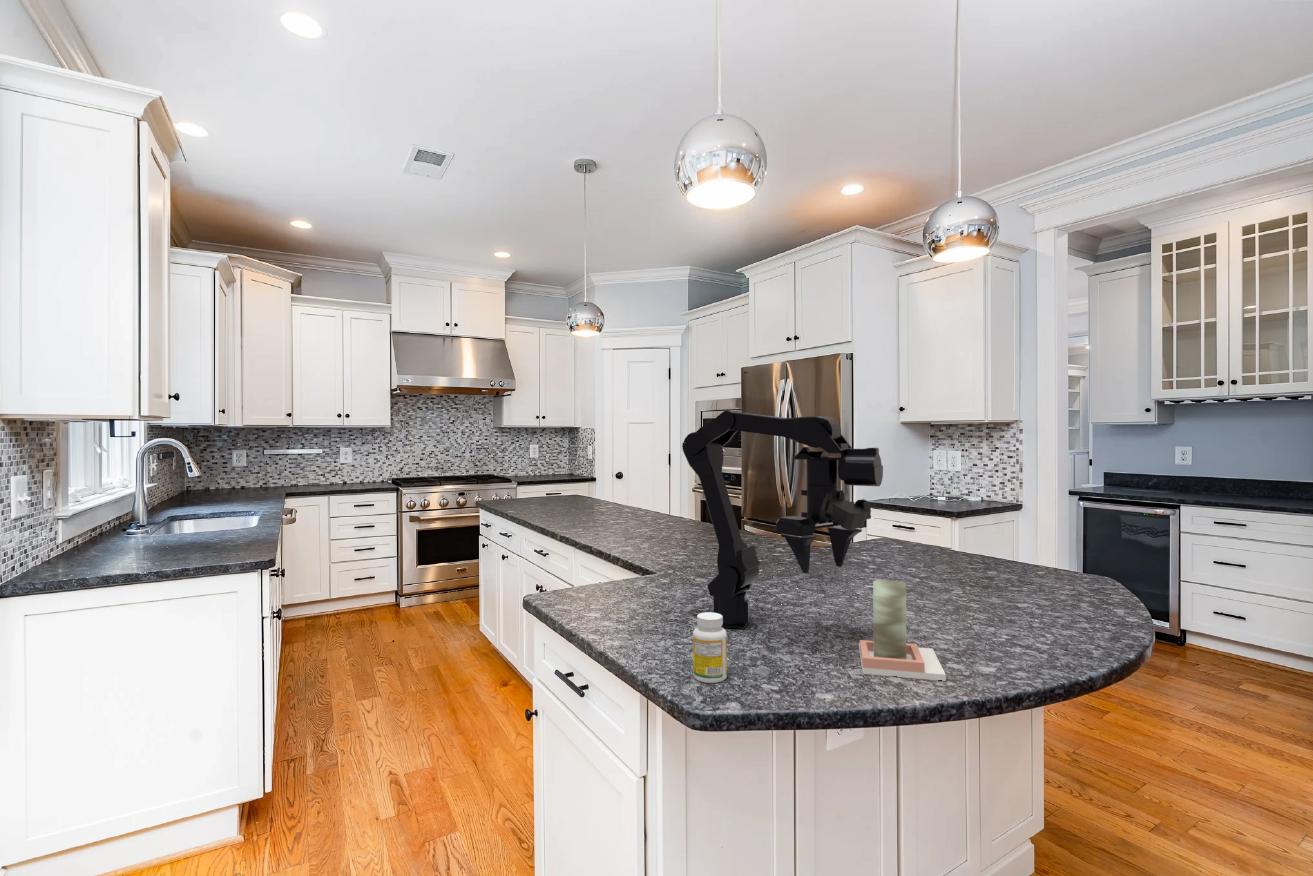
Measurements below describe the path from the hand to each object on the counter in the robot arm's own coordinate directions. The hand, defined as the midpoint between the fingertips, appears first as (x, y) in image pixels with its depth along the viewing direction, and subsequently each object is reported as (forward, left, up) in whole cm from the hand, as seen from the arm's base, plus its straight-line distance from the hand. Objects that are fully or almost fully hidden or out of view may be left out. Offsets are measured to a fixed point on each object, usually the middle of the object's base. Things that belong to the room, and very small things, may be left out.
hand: (822, 569), depth 113 cm
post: (+10, -10, -12) cm, 19 cm away
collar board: (+12, -9, -13) cm, 20 cm away
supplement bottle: (-17, -22, -13) cm, 31 cm away
